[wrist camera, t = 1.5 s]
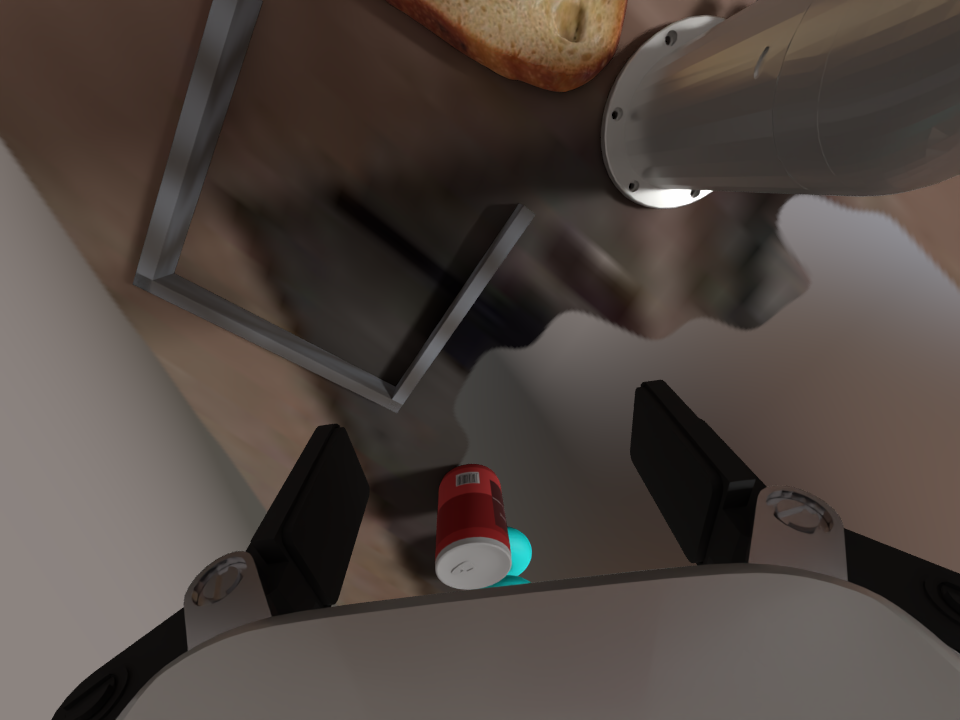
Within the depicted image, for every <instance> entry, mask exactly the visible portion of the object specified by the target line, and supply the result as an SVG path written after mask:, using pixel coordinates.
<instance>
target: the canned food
mask: <svg viewBox="0 0 960 720" xmlns="http://www.w3.org/2000/svg"><path fill="white" fill-rule="evenodd" d="M511 565H512V560H511V549H510V542H509V535H508V529H507V523H506V517H505V511H504V504H503V499H502V492H501V486H500V482H499V480H498V478H497V476H496V475H495V473H494V472H493V471H492V470H491V469H489V468H488V467H485V466H483V465H478V464H466V465H461V466H458V467H456V468H454V469H452V470H450V471H449V472H448V473H447V474H446V475H445V476H444V478H443V479H442V482H441V484H440V486H439V493H438V512H437V531H436V550H435V567H436V568H435V570H436V574H437V576H438V578H439V579H440V580H441V581H442V582H443V583H445V584H446V585H448V586H450V587H454V588H457V589H479V588H484V587H487V586H490V585H493V584H495V583H497V582H498V581H500V580H501V579H503V578H504V577H505V576H506V575H507V574H508V572H509V571H510V568H511Z"/></svg>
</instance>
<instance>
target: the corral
mask: <svg viewBox="0 0 960 720" xmlns="http://www.w3.org/2000/svg"><path fill="white" fill-rule="evenodd" d="M262 2H263V1H262V0H213V2H212V5H211V9H210V12H209V16H208V20H207V23H206V27H205V30H204V34H203V37H202V41H201V44H200V48H199V51H198V55H197V58H196V62H195V66H194V69H193V73H192V76H191V80H190V83H189V87H188V90H187V94H186V97H185V101H184V105H183V108H182V112H181V115H180V119H179V122H178V126H177V129H176V133H175V136H174V140H173V143H172V147H171V151H170V154H169V158H168V161H167V165H166V168H165V172H164V175H163V179H162V182H161V186H160V190H159V193H158V197H157V200H156V204H155V207H154V211H153V214H152V218H151V221H150V225H149V228H148V232H147V236H146V239H145V243H144V246H143V250H142V253H141V257H140V260H139V264H138V267H137V271H136V274H135V278H134V282H133V285H135V286H137V287H139V288H141V289H143V290H145V291H147V292H149V293H152V294H154V295H156V296H158V297H160V298H162V299H164V300H166V301H168V302H170V303H172V304H174V305H176V306H178V307H180V308H182V309H184V310H186V311H189V312H191V313H193V314H195V315H197V316H199V317H201V318H203V319H205V320H207V321H209V322H211V323H213V324H215V325H217V326H219V327H221V328H223V329H225V330H228V331H230V332H232V333H234V334H236V335H238V336H240V337H242V338H244V339H246V340H248V341H250V342H252V343H254V344H256V345H258V346H260V347H262V348H265V349H267V350H269V351H271V352H273V353H275V354H277V355H279V356H281V357H283V358H285V359H287V360H289V361H291V362H293V363H295V364H297V365H299V366H301V367H304V368H306V369H308V370H310V371H312V372H314V373H316V374H318V375H320V376H322V377H324V378H326V379H328V380H330V381H332V382H334V383H336V384H338V385H341V386H343V387H345V388H347V389H349V390H351V391H353V392H355V393H357V394H359V395H361V396H363V397H365V398H367V399H369V400H371V401H373V402H375V403H378V404H380V405H382V406H384V407H386V408H388V409H390V410H392V411H394V412H396V413H397V412H398V411H399V409H400V408H401V406H402V405H403V403H404V402H405V401H406V399H407V398H408V396H409V395H410V393H411V392H412V391H413V389H414V388H415V386H416V385H417V383H418V382H419V381H420V379H421V378H422V376H423V375H424V373H425V372H426V371H427V369H428V368H429V366H430V365H431V363H432V362H433V361H434V359H435V358H436V356H437V355H438V353H439V352H440V351H441V349H442V348H443V346H444V345H445V343H446V342H447V340H448V339H449V338H450V336H451V335H452V333H453V332H454V330H455V329H456V328H457V326H458V325H459V323H460V322H461V320H462V319H463V318H464V316H465V315H466V313H467V312H468V310H469V309H470V308H471V306H472V305H473V303H474V302H475V300H476V299H477V298H478V296H479V295H480V293H481V292H482V290H483V289H484V288H485V286H486V285H487V283H488V282H489V280H490V279H491V278H492V276H493V275H494V273H495V272H496V270H497V269H498V268H499V266H500V265H501V263H502V262H503V260H504V259H505V258H506V256H507V255H508V253H509V252H510V250H511V249H512V248H513V246H514V245H515V243H516V242H517V240H518V239H519V237H520V236H521V235H522V233H523V232H524V230H525V229H526V227H527V226H528V225H529V223H530V222H531V220H532V219H533V217H534V216H535V215H536V214H534V213H533V212H532V211H531V210H529V209H528V208H527V207H526V206H524V205H522V204H518V206H517V207H516V209H515V210H514V212H513V213H512V215H511V216H510V218H509V219H508V221H507V222H506V224H505V225H504V226H503V228H502V229H501V231H500V232H499V234H498V235H497V237H496V238H495V240H494V241H493V243H492V244H491V246H490V247H489V249H488V250H487V252H486V253H485V255H484V256H483V258H482V259H481V261H480V262H479V264H478V265H477V267H476V268H475V270H474V271H473V273H472V274H471V276H470V277H469V278H468V280H467V281H466V283H465V284H464V286H463V287H462V289H461V290H460V292H459V293H458V295H457V296H456V298H455V299H454V301H453V302H452V304H451V305H450V307H449V308H448V310H447V311H446V313H445V314H444V316H443V317H442V319H441V320H440V322H439V323H438V325H437V326H436V328H435V329H434V331H433V332H432V333H431V335H430V336H429V338H428V339H427V341H426V342H425V344H424V345H423V347H422V348H421V350H420V351H419V353H418V354H417V356H416V357H415V359H414V360H413V362H412V363H411V365H410V366H409V368H408V369H407V371H406V372H405V374H404V375H403V377H402V378H401V380H400V381H399V383H398V384H397V385H396V387H395V386H393V385H391V384H389V383H387V382H385V381H383V380H381V379H380V378H378V377H376V376H374V375H372V374H370V373H368V372H366V371H364V370H362V369H360V368H358V367H356V366H354V365H352V364H350V363H348V362H346V361H344V360H342V359H340V358H339V357H337V356H335V355H333V354H331V353H329V352H327V351H325V350H323V349H321V348H319V347H317V346H315V345H313V344H311V343H309V342H307V341H305V340H303V339H301V338H299V337H298V336H296V335H294V334H292V333H290V332H288V331H286V330H284V329H282V328H280V327H278V326H276V325H274V324H272V323H270V322H268V321H266V320H264V319H262V318H260V317H258V316H256V315H255V314H253V313H251V312H249V311H247V310H245V309H243V308H241V307H239V306H237V305H235V304H233V303H231V302H229V301H227V300H225V299H223V298H221V297H219V296H217V295H215V294H214V293H212V292H210V291H208V290H206V289H204V288H202V287H200V286H198V285H196V284H194V283H192V282H190V281H188V280H186V279H184V278H182V277H180V276H178V275H176V274H174V271H175V268H176V265H177V262H178V259H179V256H180V253H181V250H182V247H183V244H184V241H185V238H186V235H187V232H188V229H189V226H190V222H191V219H192V216H193V213H194V210H195V207H196V204H197V201H198V198H199V195H200V192H201V189H202V186H203V183H204V180H205V177H206V173H207V170H208V167H209V164H210V161H211V158H212V155H213V152H214V149H215V146H216V143H217V140H218V137H219V134H220V131H221V128H222V125H223V121H224V118H225V115H226V112H227V109H228V106H229V103H230V100H231V97H232V94H233V91H234V88H235V85H236V82H237V79H238V76H239V72H240V69H241V66H242V63H243V60H244V57H245V54H246V51H247V48H248V45H249V42H250V39H251V36H252V33H253V30H254V27H255V23H256V20H257V17H258V14H259V11H260V8H261V5H262Z"/></svg>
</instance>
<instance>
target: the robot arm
mask: <svg viewBox="0 0 960 720" xmlns="http://www.w3.org/2000/svg"><path fill="white" fill-rule="evenodd" d="M665 38H666V39H667V45H666V42H665ZM612 112H614V113H615V119H613V118H612ZM601 149H602V155H603V161H604V164H605V167H606V170H607V172H608V175H609V177H610V178H611V180H612V182H613V183H614V185H615V187H616V188H617V189H618V190H619V191H620V192H621V193H622V194H623V195H624V196H625V197H626V198H628V199H630V200H631V201H633V202H635V203H636V204H639V205H642V206H645V207H650V208H657V209H672V208H677V207H681V206H686V205H688V204H691V203H693V202H696V201H698V200H700V199H701V198H703V197H705V196H706V195H708V194H709V193H711V192H712V191H734V192H759V193H784V194H810V195H833V196H881V195H890V194H898V193H903V192H908V191H912V190H916V189H920V188H924V187H928V186H931V185H934V184H937V183H940V182H942V181H945V180H947V179H950V178H952V177H955V176H957V175H960V0H757V1H756V2H755V3H753V4H751V5H750V6H748V7H746V8H745V9H743V10H741V11H739V12H738V13H736V14H734V15H733V16H731V17H729V18H728V19H725V18H723V17H717V16H711V15H701V16H692V17H688V18H685V19H682V20H679V21H677V22H674V23H672V24H670V25H669V26H667V27H665V28H664V29H662V30H660V31H659V32H657V33H656V34H654V35H653V36H652V37H651V38H649V39H648V40H647V41H646V42H644V43H643V44H642V45H641V46H640V47H639V48H638V49H637V50H636V51H635V53H634V54H633V55H632V56H631V57H630V58H629V59H628V61H627V62H626V64H625V65H624V67H623V68H622V70H621V71H620V73H619V74H618V76H617V78H616V80H615V82H614V84H613V86H612V88H611V90H610V93H609V96H608V99H607V102H606V105H605V108H604V113H603V119H602V125H601ZM630 183H631V184H632V187H631V188H630V189H629V185H630ZM690 192H691V194H690ZM630 455H631V459H632V462H633V464H634V466H635V467H636V469H637V471H638V473H639V474H640V476H641V478H642V480H643V482H644V483H645V485H646V487H647V488H648V490H649V492H650V494H651V496H652V497H653V499H654V501H655V503H656V504H657V506H658V508H659V510H660V511H661V513H662V515H663V517H664V519H665V520H666V522H667V524H668V526H669V527H670V529H671V531H672V533H673V534H674V536H675V538H676V540H677V541H678V543H679V545H680V547H681V548H682V550H683V552H684V554H685V555H686V557H687V559H688V560H689V561H690V562H691V563H696V564H697V566H687V567H675V568H665V569H654V570H645V571H644V570H643V571H634V572H625V573H616V574H607V575H597V576H589V577H580V578H570V579H562V580H552V581H544V582H535V583H526V584H517V585H508V586H500V587H491V588H482V589H474V590H465V591H456V592H448V593H439V594H431V595H423V596H415V597H406V598H398V599H390V600H382V601H373V602H365V603H357V604H349V605H342V606H335V607H331V605H333V604H335V603H336V602H337V600H338V598H339V595H340V591H341V588H342V585H343V581H344V578H345V575H346V571H347V568H348V565H349V561H350V558H351V555H352V551H353V548H354V545H355V541H356V538H357V534H358V531H359V528H360V524H361V521H362V518H363V514H364V511H365V508H366V504H367V501H368V498H369V485H368V482H367V480H366V477H365V475H364V472H363V470H362V468H361V465H360V463H359V460H358V458H357V456H356V453H355V451H354V448H353V446H352V443H351V441H350V439H349V436H348V434H347V431H346V429H345V428H344V427H341V428H340V426H339V425H338V424H329V425H322V426H318V427H317V428H316V430H315V431H314V433H313V435H312V436H311V438H310V440H309V442H308V443H307V445H306V447H305V448H304V450H303V452H302V454H301V455H300V457H299V459H298V460H297V462H296V464H295V466H294V467H293V469H292V471H291V473H290V474H289V476H288V478H287V479H286V481H285V483H284V485H283V486H282V488H281V490H280V491H279V493H278V495H277V497H276V498H275V500H274V502H273V503H272V505H271V507H270V509H269V510H268V512H267V514H266V515H265V517H264V519H263V521H262V522H261V524H260V526H259V527H258V529H257V531H256V533H255V534H254V536H253V538H252V540H251V543H250V545H249V546H248V548H247V550H246V552H245V551H235V552H232V553H228V554H226V555H224V556H222V557H220V558H218V559H216V560H215V561H213V562H212V563H211V564H209V565H208V566H206V567H205V568H204V569H203V570H202V571H201V572H200V573H199V574H198V575H197V576H196V577H195V579H194V580H193V581H192V583H191V584H190V586H189V587H188V590H187V592H186V594H185V597H184V607H183V608H182V609H181V610H179V611H178V612H177V613H175V614H174V615H172V616H171V617H169V618H168V619H167V620H165V621H164V622H163V623H161V624H160V625H158V626H157V627H156V628H154V629H153V630H152V631H150V632H149V633H148V634H146V635H145V636H143V637H142V638H140V639H139V640H138V641H136V642H135V643H134V644H132V645H131V646H129V647H128V648H127V649H126V650H124V651H123V652H121V653H120V654H118V655H117V656H116V657H115V658H113V659H112V660H110V661H109V662H107V663H106V664H105V665H103V666H102V667H100V668H99V669H98V670H96V671H95V672H94V673H93V674H91V675H90V676H89V677H88V678H86V679H85V680H84V681H83V682H81V683H80V684H79V685H78V686H77V687H76V688H75V689H74V691H73V692H72V693H71V694H70V695H69V696H68V697H67V698H66V699H65V701H64V702H63V703H62V705H61V706H60V707H59V709H58V710H57V711H56V712H55V714H54V716H53V718H52V720H960V574H959V573H957V572H954V571H952V570H949V569H946V568H944V567H941V566H939V565H936V564H934V563H931V562H929V561H926V560H923V559H921V558H918V557H916V556H913V555H911V554H908V553H906V552H903V551H901V550H898V549H896V548H893V547H891V546H888V545H885V544H883V543H880V542H878V541H875V540H873V539H870V538H868V537H865V536H863V535H860V534H858V533H855V532H852V531H850V530H847V529H845V528H844V527H843V523H842V520H841V518H840V516H839V515H838V514H837V513H836V511H835V510H834V509H833V508H832V507H831V506H829V505H828V504H827V503H826V502H825V501H823V500H822V499H820V498H818V497H817V496H815V495H813V494H811V493H809V492H806V491H804V490H801V489H798V488H794V487H790V486H782V485H774V486H769V487H766V486H765V485H764V484H763V482H762V481H761V480H760V479H759V478H758V477H757V476H756V475H755V474H754V473H753V472H752V471H751V470H750V469H749V468H748V467H747V465H745V463H744V462H743V461H742V460H741V459H740V458H739V457H738V456H737V455H736V454H735V453H734V452H733V451H732V450H731V449H730V447H729V446H727V444H726V443H725V442H724V441H723V440H722V439H721V438H720V437H719V436H718V435H717V434H716V433H715V432H714V431H713V430H712V428H711V427H710V426H708V424H707V423H705V421H703V420H702V419H700V418H698V417H697V416H696V415H695V414H694V412H693V411H692V410H691V409H690V408H689V407H688V406H687V405H686V404H685V403H684V402H683V401H682V400H681V399H680V397H679V396H678V395H677V394H676V393H675V392H674V391H673V390H672V389H671V388H670V387H669V386H668V385H667V384H666V382H664V381H663V380H656V381H648V382H643V383H642V384H641V387H638V388H637V389H636V391H635V401H634V412H633V424H632V435H631V447H630Z"/></svg>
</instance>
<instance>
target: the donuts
mask: <svg viewBox="0 0 960 720" xmlns="http://www.w3.org/2000/svg"><path fill="white" fill-rule="evenodd" d="M507 529H508V535H509V542H510V549H511V560H512V565H511V568H510V571H509V572H508V574H507V575H506V576H505V577H504V578H503V579H501V580H500V581H498V582H497V583H495V584H493V585H490V586H487V587H484V588H491V587H500V586H508V585H517V584H526V583H531V582H530V581H528V580H526V579H524V578H522V577H518V575H520V574H521V573H522V572H523V571H524V570H525V569H526V568H527V566H528V564H529V562H530V560H531V555H532V549H531V545H530V542H529V540H528V539H527V537H526V536H525V535H524V534H523V533H522V532H520V531H519V530H517V529H514V528H512V527H508V526H507ZM479 589H482V588H479ZM471 590H474V589H471Z"/></svg>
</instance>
